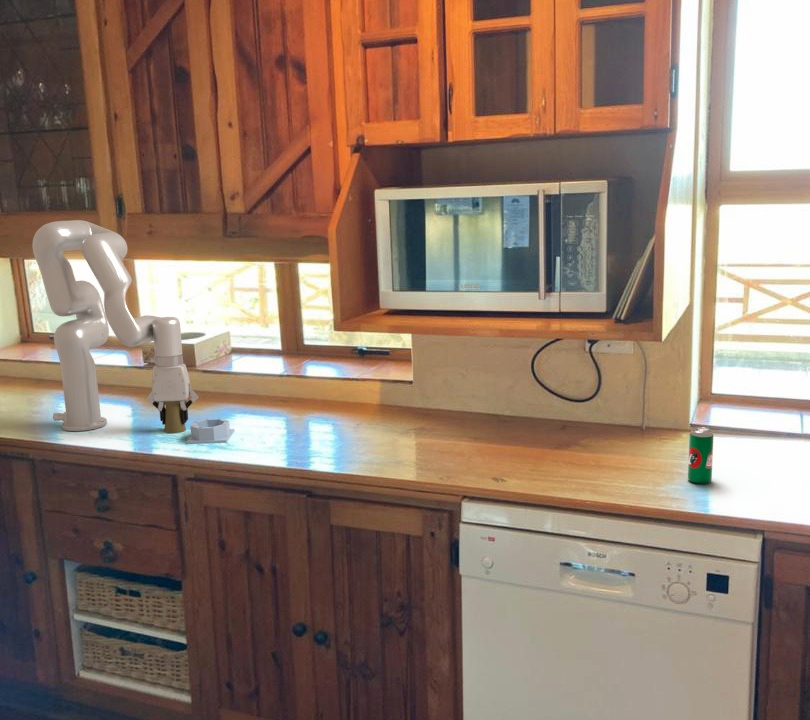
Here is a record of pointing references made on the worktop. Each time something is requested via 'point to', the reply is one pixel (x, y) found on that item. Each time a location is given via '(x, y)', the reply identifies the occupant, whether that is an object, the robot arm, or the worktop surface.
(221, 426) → the grey octagonal holder
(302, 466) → the worktop surface
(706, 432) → the soda can
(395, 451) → the worktop surface
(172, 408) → the cork
